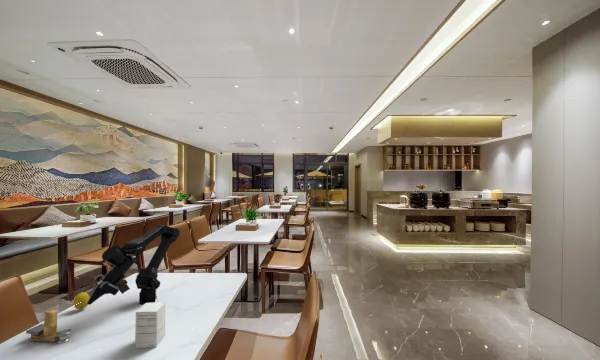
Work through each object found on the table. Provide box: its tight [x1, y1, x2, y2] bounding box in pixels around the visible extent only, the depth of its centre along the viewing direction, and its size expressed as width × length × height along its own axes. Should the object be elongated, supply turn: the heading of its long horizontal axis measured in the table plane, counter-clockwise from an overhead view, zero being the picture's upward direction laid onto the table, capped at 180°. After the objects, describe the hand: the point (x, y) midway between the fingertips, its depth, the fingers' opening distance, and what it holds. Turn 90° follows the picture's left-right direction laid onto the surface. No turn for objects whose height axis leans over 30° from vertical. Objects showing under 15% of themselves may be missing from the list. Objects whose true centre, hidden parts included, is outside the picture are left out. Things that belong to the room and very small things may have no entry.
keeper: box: [25, 323, 44, 337], centre depth 94 cm, size 5×5×4 cm
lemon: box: [73, 291, 90, 311], centre depth 115 cm, size 6×6×8 cm
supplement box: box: [134, 301, 167, 349], centre depth 92 cm, size 7×7×13 cm
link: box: [30, 309, 59, 343], centre depth 93 cm, size 9×3×10 cm, turn 87°
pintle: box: [56, 328, 72, 345], centre depth 92 cm, size 4×4×3 cm
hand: (88, 304), depth 102 cm, fingers closed
